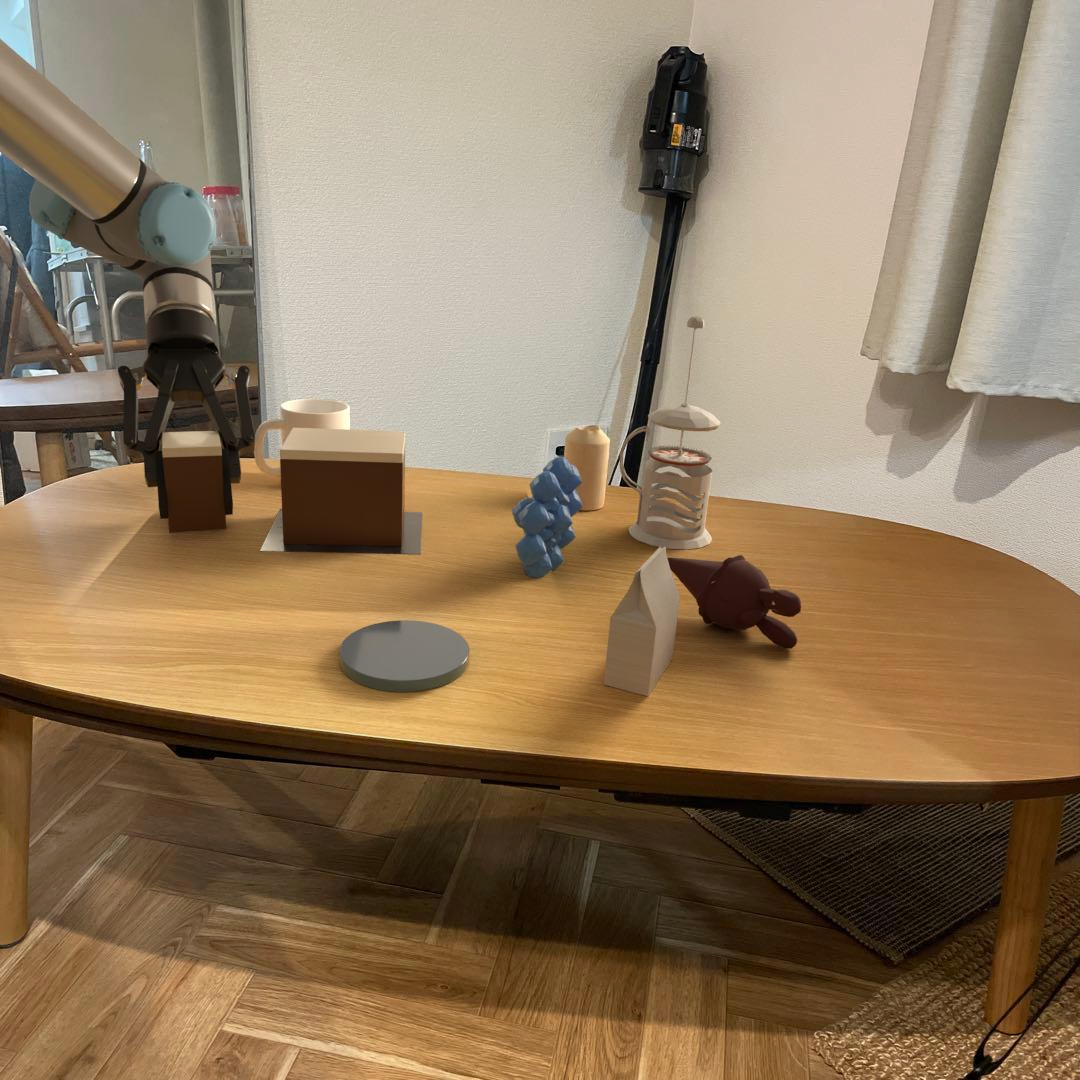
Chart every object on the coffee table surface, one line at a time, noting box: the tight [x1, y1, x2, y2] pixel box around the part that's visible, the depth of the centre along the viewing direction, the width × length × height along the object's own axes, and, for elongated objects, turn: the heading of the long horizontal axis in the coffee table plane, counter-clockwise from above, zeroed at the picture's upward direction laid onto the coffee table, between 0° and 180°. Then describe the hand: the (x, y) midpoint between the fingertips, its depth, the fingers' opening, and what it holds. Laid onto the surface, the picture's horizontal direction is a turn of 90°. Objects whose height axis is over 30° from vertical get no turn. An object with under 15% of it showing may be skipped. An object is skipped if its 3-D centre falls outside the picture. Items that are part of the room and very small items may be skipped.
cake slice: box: [161, 430, 227, 534], centre depth 95 cm, size 6×6×10 cm
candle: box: [563, 424, 611, 511], centre depth 112 cm, size 6×6×10 cm
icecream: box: [667, 554, 802, 650], centre depth 82 cm, size 7×7×15 cm
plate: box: [338, 619, 470, 693], centre depth 73 cm, size 10×10×1 cm
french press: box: [619, 316, 721, 550], centre depth 101 cm, size 10×12×25 cm
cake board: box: [259, 508, 423, 555], centre depth 97 cm, size 16×13×1 cm
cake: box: [279, 428, 406, 546], centre depth 95 cm, size 12×9×10 cm
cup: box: [253, 398, 351, 478], centre depth 111 cm, size 8×12×10 cm
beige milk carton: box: [603, 546, 681, 697], centre depth 72 cm, size 4×7×10 cm, turn 156°
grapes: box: [511, 456, 583, 578], centre depth 90 cm, size 12×7×12 cm, turn 155°
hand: (196, 510), depth 93 cm, fingers closed on cake slice, 6 cm apart
